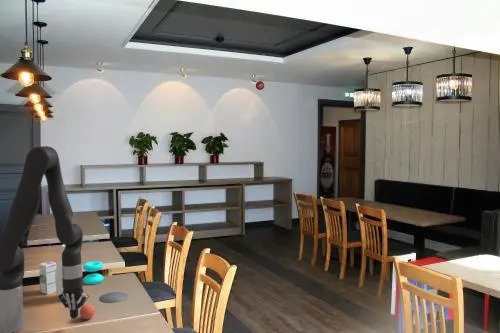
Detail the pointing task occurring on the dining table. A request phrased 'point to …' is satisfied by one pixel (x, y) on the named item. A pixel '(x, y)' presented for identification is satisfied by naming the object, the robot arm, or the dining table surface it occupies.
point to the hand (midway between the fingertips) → (74, 317)
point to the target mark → (113, 297)
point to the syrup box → (47, 277)
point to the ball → (87, 311)
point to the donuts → (91, 268)
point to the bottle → (59, 276)
